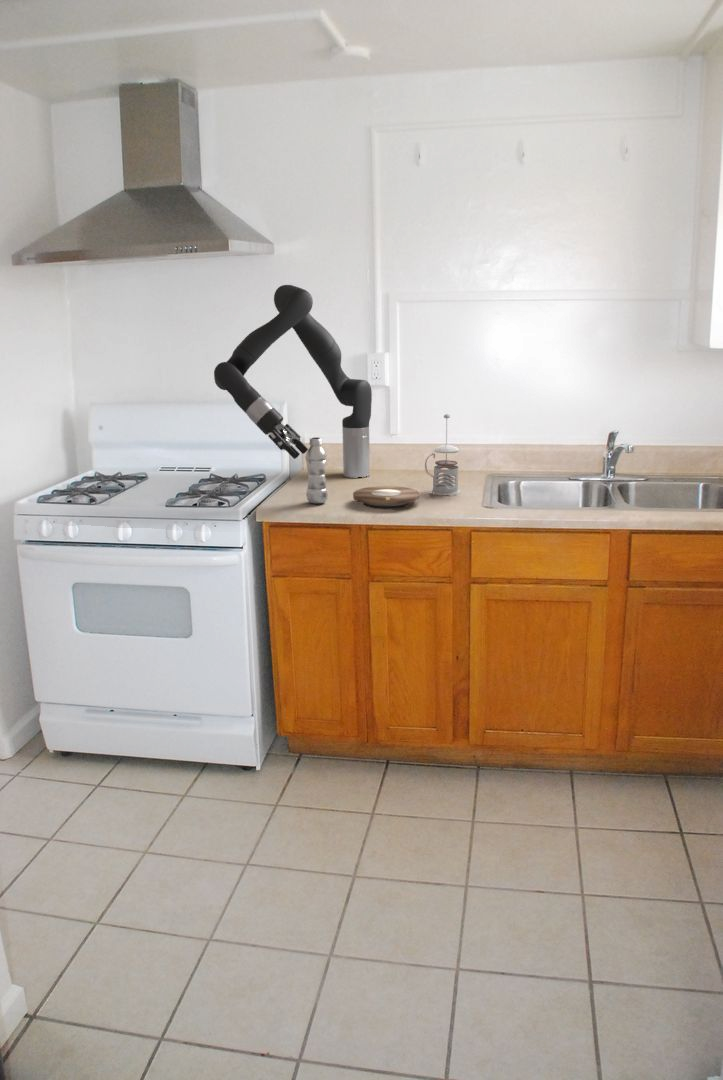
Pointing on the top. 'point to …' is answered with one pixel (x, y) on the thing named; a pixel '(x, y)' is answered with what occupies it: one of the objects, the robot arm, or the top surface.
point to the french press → (445, 486)
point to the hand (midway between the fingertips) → (301, 454)
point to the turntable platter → (386, 495)
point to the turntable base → (386, 506)
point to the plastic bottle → (316, 472)
